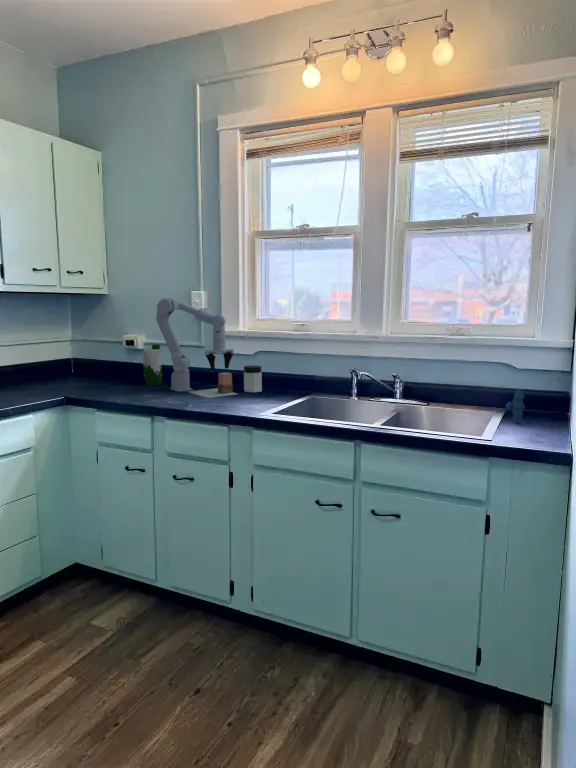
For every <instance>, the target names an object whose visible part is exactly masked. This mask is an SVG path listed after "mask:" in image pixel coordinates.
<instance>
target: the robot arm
mask: <svg viewBox="0 0 576 768" xmlns="http://www.w3.org/2000/svg"><path fill="white" fill-rule="evenodd" d="M179 310H180V311H183V312H186V313H189V314H191V315H194V316H196V319H197V320H199V321H202V322H204V323H206V324H209V325H212V348H213V349H209V350H208V349H207V350H206V349H205V350H204V355H205V357H206V360H207V361H208V363H209V366H210V370H212V371H215V365H216V364H215V361H216V355H220V354H222V355H223V359H224V369H229V366H230V363H231V360H232V357H233V356H234V350H235V349H234V348H226V330H225V329H226V327H225V324H226V321H227V320H226V318H225V316H224V315H222V314H219V313H218V312H216V311H214V312H213V311H211V310H209V309H208V308H207V307H202V308H197V307H194V306H192V305H190V304H188V303H185V302H184V301H180V300H177V299H173V298H162V299H160V300H159V302H158V303H157V305H156V318H155V319H156V323H157V326H158V327H159V330H160V332H161V335H162V336H163V339H164V341H165V343H166V346H167V348H168V350H169V353H170V354H171V355H170V356H171V358H170V359H171V362H172V369H173V372H172V373H171V375H170V378H171V380H170V381H171V387H170V388H169V389H170V390H171V391H172V390H173V391H175V392H188V391H194V389H193V388H191V386H190V385H191V384H190V381H191V379H190V369H189V367H190V366H191V361H190V359H189V358H188V357H187V356H186V355H185V353H184V351H182V349H181V347H180V344H179V342H178V339H177V337H176V335H175V333H174V330H173V328H172V326H171V324H170V321H169V319H170V317H171V315H172V314H173V312H175V311H179Z"/></svg>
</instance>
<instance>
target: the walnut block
mask: <svg viewBox="0 0 576 768" xmlns="http://www.w3.org/2000/svg"><path fill="white" fill-rule="evenodd" d="M233 387H234V386H233V383H232V384H230V385H221V384H219V383H217V388H218V393H222V394H226V393H234V391H233Z"/></svg>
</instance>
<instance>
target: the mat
mask: <svg viewBox="0 0 576 768" xmlns="http://www.w3.org/2000/svg"><path fill="white" fill-rule="evenodd" d="M187 393H189V394H193V395H196V396H200V397H203V398H207V399H209V398H210V399H211V398H218V397H219V398H221V397H225V396H234V395H238V393H236V392H233V393H226V394H222V393H218V387H216V388H206V389H198V390H187Z"/></svg>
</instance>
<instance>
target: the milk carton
mask: <svg viewBox="0 0 576 768" xmlns="http://www.w3.org/2000/svg"><path fill="white" fill-rule="evenodd" d="M142 352H143V354H142V359H143V360H142V365H143V366H142V367H143V369H142V370H143V377H144V380H145V384H146V386H154V385H155V386H159V385H161V384H162V375H163V372H162V370H163V369H162V368H163V367H162V366H163V365H162V354H161V345H160V344H152V345H151V347H149V348H143V351H142Z"/></svg>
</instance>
